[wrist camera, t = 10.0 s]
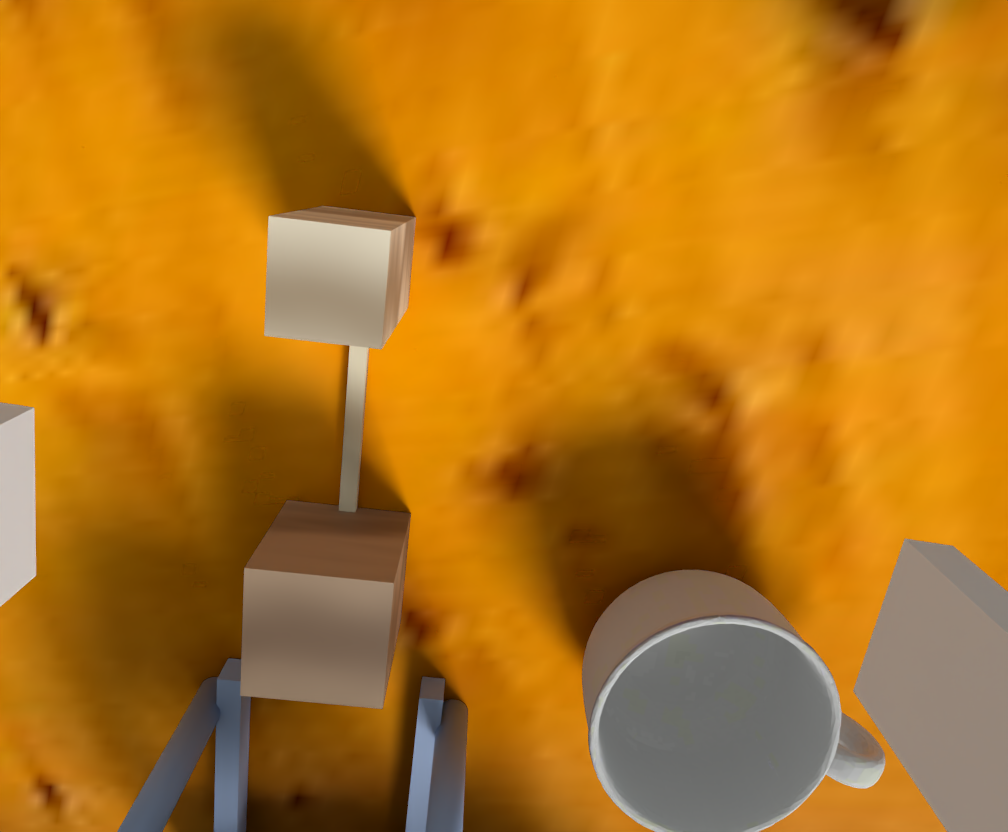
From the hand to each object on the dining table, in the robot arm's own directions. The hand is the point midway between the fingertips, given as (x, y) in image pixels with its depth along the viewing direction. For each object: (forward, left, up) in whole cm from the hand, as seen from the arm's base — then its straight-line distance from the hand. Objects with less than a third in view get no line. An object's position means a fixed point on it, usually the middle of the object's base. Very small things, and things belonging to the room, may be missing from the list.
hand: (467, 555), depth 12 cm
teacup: (+11, +18, -25) cm, 33 cm away
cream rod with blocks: (+8, -3, -25) cm, 26 cm away
